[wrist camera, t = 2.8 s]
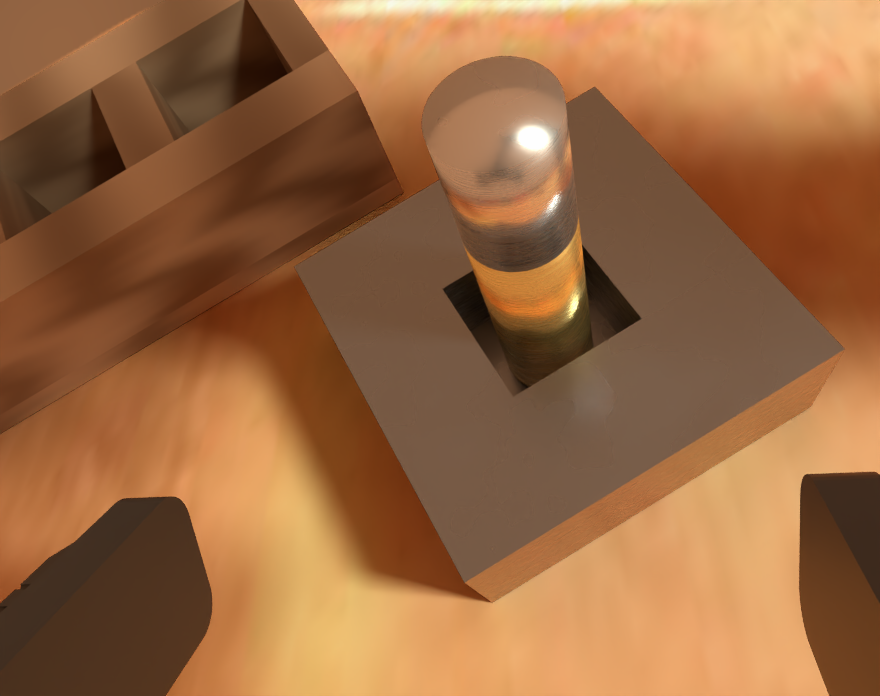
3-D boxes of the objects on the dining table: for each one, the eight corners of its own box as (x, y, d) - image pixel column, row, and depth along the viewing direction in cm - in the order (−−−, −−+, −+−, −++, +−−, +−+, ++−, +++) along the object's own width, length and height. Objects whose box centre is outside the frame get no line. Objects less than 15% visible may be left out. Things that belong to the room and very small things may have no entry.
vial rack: (310, 56, 37) (255, -55, 31) (403, 192, 32) (357, 90, 27) (-90, 292, 36) (-215, 221, 31) (-56, 467, 31) (-196, 418, 26)
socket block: (599, 167, 30) (595, 86, 26) (810, 406, 25) (845, 349, 21) (339, 325, 30) (294, 266, 26) (492, 602, 24) (464, 582, 20)
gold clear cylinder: (562, 296, 27) (516, 34, 16) (611, 360, 26) (595, 118, 15) (490, 340, 27) (397, 105, 16) (534, 407, 26) (464, 196, 15)
